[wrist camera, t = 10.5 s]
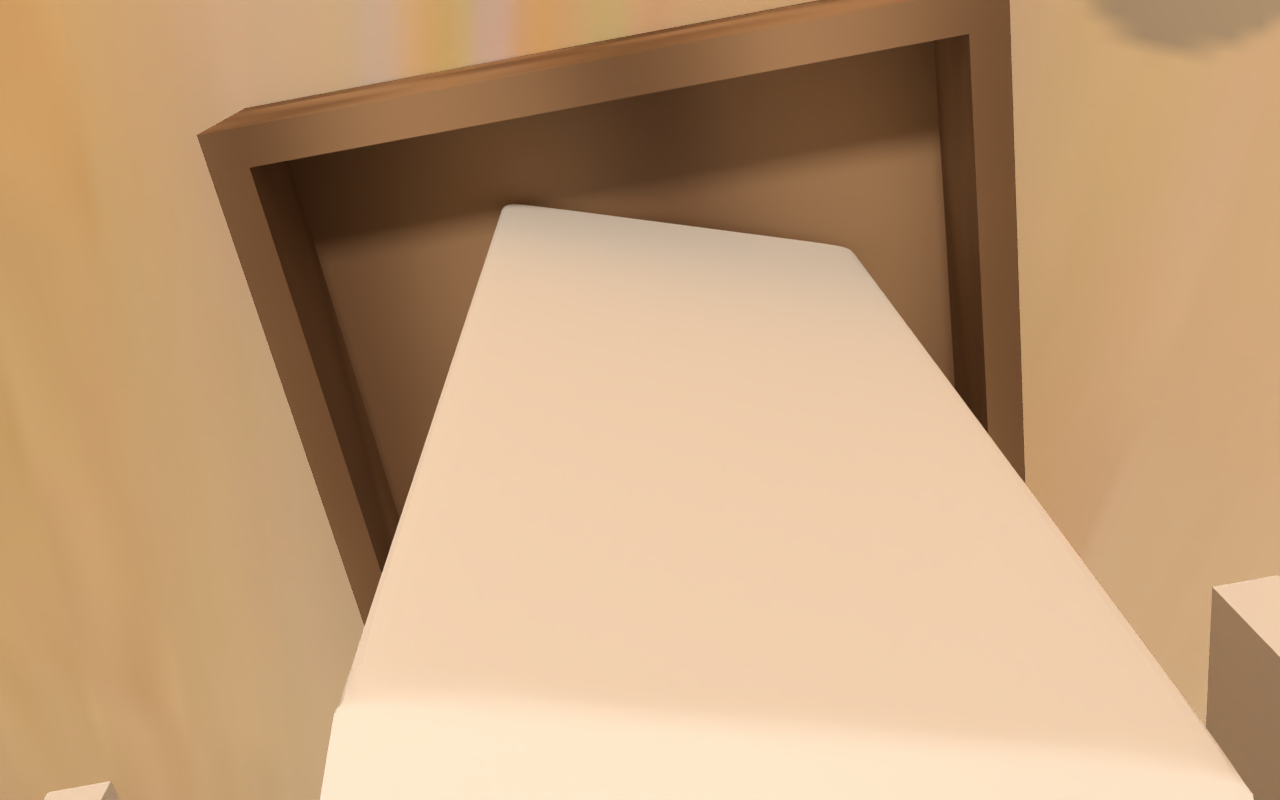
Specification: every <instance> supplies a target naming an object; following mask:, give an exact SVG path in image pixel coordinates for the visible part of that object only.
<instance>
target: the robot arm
mask: <svg viewBox="0 0 1280 800" xmlns="http://www.w3.org/2000/svg"><path fill="white" fill-rule="evenodd" d="M1206 728H1207V730H1208V731H1209V733H1210V734H1211V735H1212V737H1213V738H1214V739H1215V741H1216V742H1217V744H1218V745H1219V746H1220V748H1221V749H1222V751H1223V752H1224V754H1225V755H1226V756H1227V758H1228V759H1229V761H1230V762H1231V764H1232V765H1233V767H1234V768H1235V770H1236V771H1237V773H1238V774H1239V776H1240V777H1241V779H1242V780H1243V782H1244V783H1245V784H1246V786H1247V787H1248V788H1249V790H1250V792H1252V793H1253V798H1254V800H1280V576H1279V575H1277V576H1271V577H1265V578H1260V579H1254V580H1248V581H1243V582H1237V583H1231V584H1226V585H1220V586H1214V587H1212V607H1211V629H1210V651H1209V673H1208V694H1207V716H1206ZM44 800H120V799H119V797H118V795H117V792H116V790H115V788H114V786H113V784H112V782H111V781H109V782H103V783H98V784H92V785H86V786H81V787H75V788H69V789H64V790H58V791H52V792H48V794H47V795H46V797H45V798H44Z"/></svg>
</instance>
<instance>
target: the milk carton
mask: <svg viewBox="0 0 1280 800" xmlns="http://www.w3.org/2000/svg"><path fill="white" fill-rule="evenodd" d="M320 800H1254V798H1253V793H1252V792H1250V790H1249V788H1248V787H1247V786H1246V784H1245V783H1244V782H1243V780H1242V779H1241V777H1240V776H1239V774H1238V773H1237V771H1236V770H1235V768H1234V767H1233V765H1232V764H1231V762H1230V761H1229V759H1228V758H1227V756H1226V755H1225V754H1224V752H1223V751H1222V749H1221V748H1220V746H1219V745H1218V744H1217V742H1216V741H1215V739H1214V738H1213V737H1212V735H1211V734H1210V733H1209V731H1208V730H1207V728H1206V727H1205V726H1204V724H1203V723H1202V722H1201V720H1200V719H1199V717H1198V716H1197V715H1196V713H1195V712H1194V711H1193V709H1192V708H1191V707H1190V705H1189V704H1188V702H1187V701H1186V700H1185V698H1184V697H1183V696H1182V694H1181V693H1180V692H1179V690H1178V689H1177V687H1176V686H1175V685H1174V683H1173V682H1172V681H1171V679H1170V678H1169V677H1168V675H1167V674H1166V673H1165V671H1164V670H1163V669H1162V667H1161V666H1160V665H1159V663H1158V662H1157V660H1156V659H1155V658H1154V656H1153V655H1152V654H1151V652H1150V651H1149V650H1148V648H1147V647H1146V646H1145V644H1144V643H1143V642H1142V640H1141V639H1140V638H1139V636H1138V635H1137V634H1136V632H1135V631H1134V630H1133V628H1132V627H1131V625H1130V624H1129V623H1128V621H1127V620H1126V619H1125V617H1124V616H1123V615H1122V613H1121V612H1120V611H1119V609H1118V608H1117V607H1116V605H1115V604H1114V603H1113V601H1112V600H1111V599H1110V597H1109V596H1108V595H1107V593H1106V592H1105V591H1104V589H1103V588H1102V586H1101V585H1100V584H1099V582H1098V581H1097V580H1096V578H1095V577H1094V576H1093V574H1092V573H1091V572H1090V570H1089V569H1088V568H1087V566H1086V565H1085V564H1084V562H1083V561H1082V560H1081V558H1080V557H1079V556H1078V554H1077V553H1076V551H1075V550H1074V549H1073V547H1072V546H1071V545H1070V543H1069V542H1068V541H1067V539H1066V538H1065V537H1064V535H1063V534H1062V533H1061V531H1060V530H1059V529H1058V527H1057V526H1056V525H1055V523H1054V522H1053V521H1052V519H1051V518H1050V517H1049V515H1048V514H1047V512H1046V511H1045V510H1044V508H1043V507H1042V506H1041V504H1040V503H1039V502H1038V500H1037V499H1036V498H1035V496H1034V495H1033V494H1032V492H1031V491H1030V490H1029V488H1028V487H1027V486H1026V484H1025V483H1024V482H1023V480H1022V479H1021V477H1020V476H1019V475H1018V473H1017V472H1016V471H1015V469H1014V468H1013V467H1012V465H1011V464H1010V463H1009V461H1008V460H1007V459H1006V457H1005V456H1004V455H1003V453H1002V452H1001V451H1000V449H999V448H998V447H997V445H996V444H995V443H994V441H993V440H992V438H991V437H990V436H989V434H988V433H987V432H986V430H985V429H984V428H983V426H982V425H981V424H980V422H979V421H978V420H977V418H976V417H975V416H974V414H973V413H972V412H971V410H970V409H969V408H968V406H967V405H966V403H965V402H964V401H963V399H962V398H961V397H960V395H959V394H958V393H957V391H956V390H955V389H954V387H953V386H952V385H951V383H950V382H949V381H948V379H947V378H946V377H945V375H944V374H943V373H942V371H941V370H940V368H939V367H938V366H937V364H936V363H935V362H934V360H933V359H932V358H931V356H930V355H929V354H928V352H927V351H926V350H925V348H924V347H923V346H922V344H921V343H920V342H919V340H918V339H917V338H916V336H915V335H914V334H913V332H912V331H911V329H910V328H909V327H908V325H907V324H906V323H905V321H904V320H903V319H902V317H901V316H900V315H899V313H898V312H897V311H896V309H895V308H894V307H893V305H892V304H891V303H890V301H889V300H888V299H887V297H886V296H885V294H884V293H883V292H882V290H881V289H880V288H879V286H878V285H877V284H876V282H875V281H874V280H873V278H872V277H871V276H870V274H869V273H868V272H867V270H866V269H865V268H864V266H863V265H862V264H861V262H860V261H859V260H858V258H857V257H856V256H855V254H854V253H853V252H852V251H851V250H850V249H847V248H844V247H841V246H836V245H830V244H823V243H816V242H809V241H801V240H794V239H786V238H778V237H771V236H763V235H755V234H748V233H740V232H732V231H725V230H717V229H709V228H702V227H694V226H686V225H678V224H671V223H663V222H655V221H648V220H640V219H632V218H625V217H617V216H609V215H602V214H594V213H586V212H579V211H571V210H563V209H555V208H547V207H539V206H530V205H520V204H510V205H506V206H505V207H504V208H503V209H502V211H501V214H500V217H499V220H498V223H497V226H496V229H495V232H494V235H493V238H492V241H491V244H490V247H489V250H488V254H487V257H486V260H485V263H484V266H483V269H482V272H481V275H480V278H479V281H478V284H477V287H476V290H475V293H474V296H473V299H472V302H471V305H470V308H469V311H468V314H467V317H466V320H465V323H464V326H463V329H462V332H461V335H460V338H459V341H458V344H457V347H456V350H455V353H454V357H453V360H452V363H451V366H450V369H449V372H448V375H447V378H446V381H445V384H444V387H443V390H442V393H441V396H440V399H439V402H438V405H437V408H436V411H435V414H434V417H433V420H432V423H431V426H430V429H429V432H428V435H427V438H426V441H425V444H424V447H423V450H422V453H421V456H420V460H419V463H418V466H417V469H416V472H415V475H414V478H413V481H412V484H411V487H410V490H409V493H408V496H407V499H406V502H405V505H404V508H403V511H402V514H401V517H400V520H399V523H398V526H397V529H396V532H395V535H394V538H393V541H392V544H391V547H390V550H389V553H388V556H387V559H386V563H385V566H384V569H383V572H382V575H381V578H380V581H379V584H378V587H377V590H376V593H375V596H374V599H373V602H372V605H371V608H370V611H369V614H368V617H367V620H366V623H365V626H364V629H363V632H362V636H361V639H360V642H359V645H358V648H357V651H356V654H355V657H354V660H353V663H352V666H351V669H350V672H349V675H348V678H347V681H346V684H345V687H344V690H343V693H342V696H341V699H340V702H339V705H338V708H337V709H336V711H335V713H334V718H333V724H332V729H331V735H330V741H329V747H328V754H327V760H326V766H325V772H324V778H323V784H322V790H321V797H320Z"/></svg>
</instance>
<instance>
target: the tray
mask: <svg viewBox="0 0 1280 800" xmlns="http://www.w3.org/2000/svg"><path fill="white" fill-rule="evenodd" d="M197 137H198V140H199V143H200V146H201V148H202V151H203V154H204V157H205V160H206V163H207V166H208V169H209V172H210V175H211V178H212V181H213V184H214V187H215V189H216V192H217V195H218V198H219V201H220V204H221V207H222V210H223V213H224V216H225V219H226V222H227V225H228V228H229V230H230V233H231V236H232V239H233V242H234V245H235V248H236V251H237V254H238V257H239V260H240V263H241V266H242V268H243V271H244V274H245V277H246V280H247V283H248V286H249V289H250V292H251V295H252V298H253V301H254V304H255V307H256V309H257V312H258V315H259V318H260V321H261V324H262V327H263V330H264V333H265V336H266V339H267V342H268V345H269V348H270V350H271V353H272V356H273V359H274V362H275V365H276V368H277V371H278V374H279V377H280V380H281V383H282V386H283V389H284V391H285V394H286V397H287V400H288V403H289V406H290V409H291V412H292V415H293V418H294V421H295V424H296V427H297V430H298V432H299V435H300V438H301V441H302V444H303V447H304V450H305V453H306V456H307V459H308V462H309V465H310V468H311V470H312V473H313V476H314V479H315V482H316V485H317V488H318V491H319V494H320V497H321V500H322V503H323V506H324V509H325V511H326V514H327V517H328V520H329V523H330V526H331V529H332V532H333V535H334V538H335V541H336V544H337V547H338V550H339V552H340V555H341V558H342V561H343V564H344V567H345V570H346V573H347V576H348V579H349V582H350V585H351V588H352V591H353V593H354V596H355V599H356V602H357V605H358V608H359V611H360V614H361V617H362V620H363V623H364V626H365V623H366V620H367V617H368V614H369V611H370V608H371V605H372V602H373V599H374V596H375V593H376V590H377V587H378V584H379V581H380V578H381V575H382V572H383V569H384V566H385V563H386V559H387V556H388V553H389V550H390V547H391V544H392V541H393V538H394V535H395V532H396V529H397V526H398V523H399V520H400V517H401V514H402V511H403V508H404V505H405V502H406V499H407V496H408V493H409V490H410V487H411V484H412V481H413V478H414V475H415V472H416V469H417V466H418V463H419V460H420V456H421V453H422V450H423V447H424V444H425V441H426V438H427V435H428V432H429V429H430V426H431V423H432V420H433V417H434V414H435V411H436V408H437V405H438V402H439V399H440V396H441V393H442V390H443V387H444V384H445V381H446V378H447V375H448V372H449V369H450V366H451V363H452V360H453V357H454V353H455V350H456V347H457V344H458V341H459V338H460V335H461V332H462V329H463V326H464V323H465V320H466V317H467V314H468V311H469V308H470V305H471V302H472V299H473V296H474V293H475V290H476V287H477V284H478V281H479V278H480V275H481V272H482V269H483V266H484V263H485V260H486V257H487V254H488V250H489V247H490V244H491V241H492V238H493V235H494V232H495V229H496V226H497V223H498V220H499V217H500V214H501V211H502V209H503V208H504V207H505V206H506V205H510V204H520V205H530V206H539V207H547V208H555V209H563V210H571V211H579V212H586V213H594V214H602V215H609V216H617V217H625V218H632V219H640V220H648V221H655V222H663V223H671V224H678V225H686V226H694V227H702V228H709V229H717V230H725V231H732V232H740V233H748V234H755V235H763V236H771V237H778V238H786V239H794V240H801V241H809V242H816V243H823V244H830V245H836V246H841V247H844V248H847V249H850V250H851V251H852V252H853V253H854V254H855V256H856V257H857V258H858V260H859V261H860V262H861V264H862V265H863V266H864V268H865V269H866V270H867V272H868V273H869V274H870V276H871V277H872V278H873V280H874V281H875V282H876V284H877V285H878V286H879V288H880V289H881V290H882V292H883V293H884V294H885V296H886V297H887V299H888V300H889V301H890V303H891V304H892V305H893V307H894V308H895V309H896V311H897V312H898V313H899V315H900V316H901V317H902V319H903V320H904V321H905V323H906V324H907V325H908V327H909V328H910V329H911V331H912V332H913V334H914V335H915V336H916V338H917V339H918V340H919V342H920V343H921V344H922V346H923V347H924V348H925V350H926V351H927V352H928V354H929V355H930V356H931V358H932V359H933V360H934V362H935V363H936V364H937V366H938V367H939V368H940V370H941V371H942V373H943V374H944V375H945V377H946V378H947V379H948V381H949V382H950V383H951V385H952V386H953V387H954V389H955V390H956V391H957V393H958V394H959V395H960V397H961V398H962V399H963V401H964V402H965V403H966V405H967V406H968V408H969V409H970V410H971V412H972V413H973V414H974V416H975V417H976V418H977V420H978V421H979V422H980V424H981V425H982V426H983V428H984V429H985V430H986V432H987V433H988V434H989V436H990V437H991V438H992V440H993V441H994V443H995V444H996V445H997V447H998V448H999V449H1000V451H1001V452H1002V453H1003V455H1004V456H1005V457H1006V459H1007V460H1008V461H1009V463H1010V464H1011V465H1012V467H1013V468H1014V469H1015V471H1016V472H1017V473H1018V475H1019V476H1020V477H1021V479H1022V480H1023V482H1024V483H1025V465H1024V434H1023V403H1022V372H1021V342H1020V311H1019V280H1018V249H1017V218H1016V187H1015V156H1014V126H1013V95H1012V64H1011V33H1010V2H1009V0H818V1H813V2H807V3H802V4H797V5H791V6H786V7H781V8H775V9H770V10H765V11H759V12H754V13H749V14H743V15H738V16H733V17H728V18H722V19H717V20H712V21H706V22H701V23H696V24H690V25H685V26H680V27H674V28H669V29H664V30H659V31H653V32H648V33H643V34H637V35H632V36H627V37H621V38H616V39H611V40H605V41H600V42H595V43H589V44H584V45H579V46H574V47H568V48H563V49H558V50H552V51H547V52H542V53H536V54H531V55H526V56H520V57H515V58H510V59H505V60H499V61H494V62H489V63H483V64H478V65H473V66H467V67H462V68H457V69H451V70H446V71H441V72H435V73H430V74H425V75H420V76H414V77H409V78H404V79H398V80H393V81H388V82H382V83H377V84H372V85H366V86H361V87H356V88H351V89H345V90H340V91H335V92H329V93H324V94H319V95H313V96H308V97H303V98H297V99H292V100H287V101H281V102H276V103H271V104H266V105H260V106H255V107H250V108H245V109H243V110H241V111H240V112H238V113H236V114H234V115H232V116H231V117H229V118H227V119H225V120H223V121H222V122H220V123H218V124H216V125H214V126H213V127H211V128H209V129H207V130H205V131H203V132H202V133H200V134H198V135H197Z"/></svg>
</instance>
